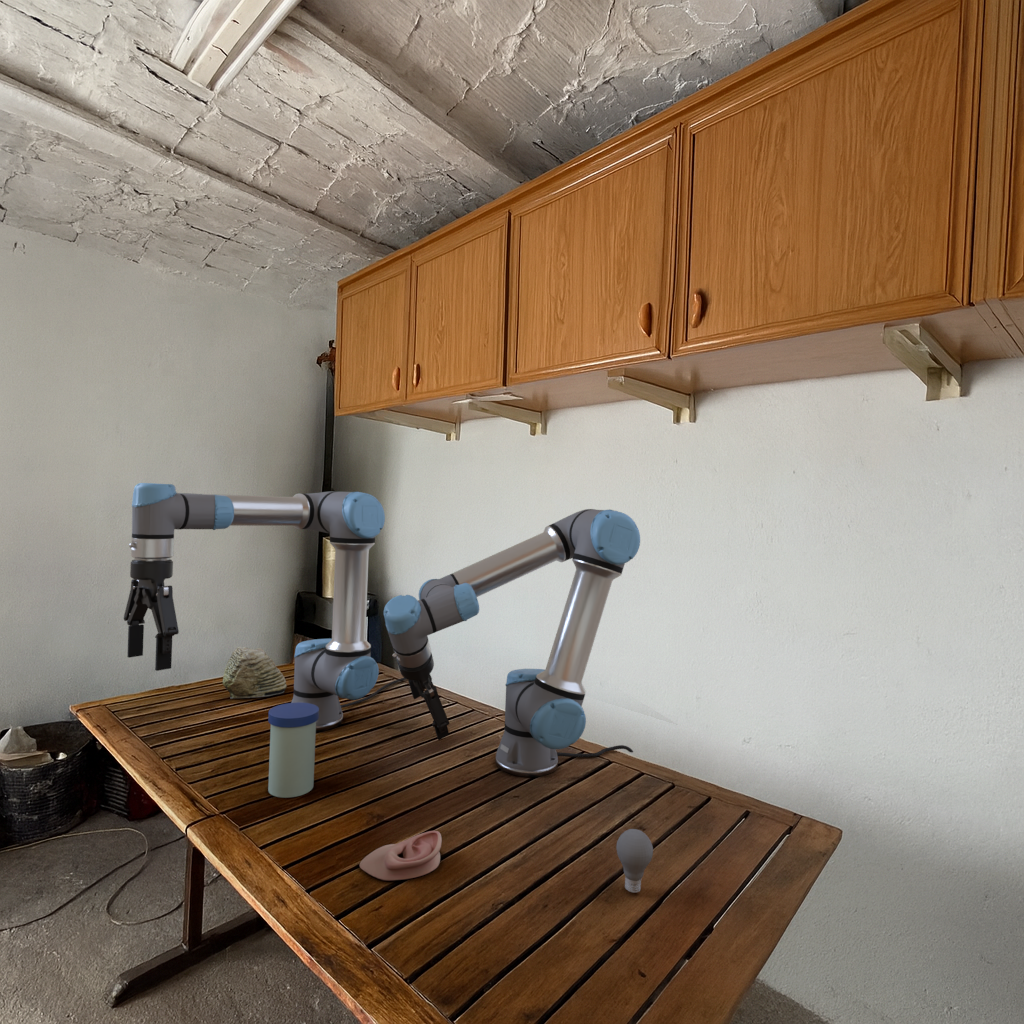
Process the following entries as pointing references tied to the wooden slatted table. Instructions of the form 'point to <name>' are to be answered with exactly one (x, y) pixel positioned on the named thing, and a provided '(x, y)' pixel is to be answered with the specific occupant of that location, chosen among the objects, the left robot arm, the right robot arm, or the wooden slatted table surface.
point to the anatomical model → (405, 858)
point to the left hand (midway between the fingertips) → (148, 662)
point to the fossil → (252, 674)
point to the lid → (293, 715)
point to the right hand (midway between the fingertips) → (430, 715)
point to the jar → (291, 760)
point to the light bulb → (634, 857)
